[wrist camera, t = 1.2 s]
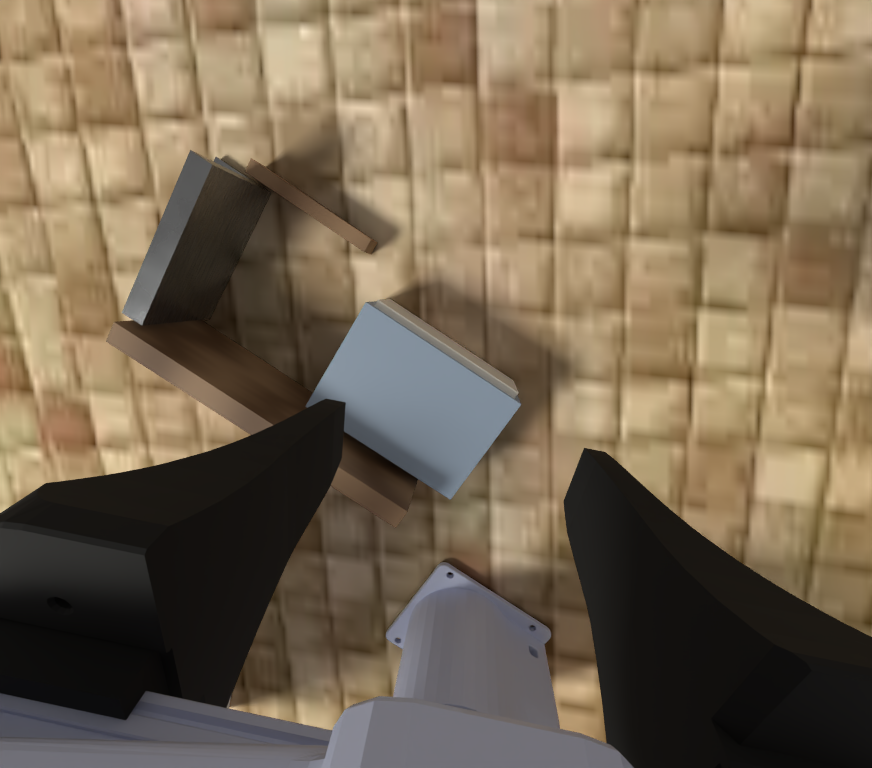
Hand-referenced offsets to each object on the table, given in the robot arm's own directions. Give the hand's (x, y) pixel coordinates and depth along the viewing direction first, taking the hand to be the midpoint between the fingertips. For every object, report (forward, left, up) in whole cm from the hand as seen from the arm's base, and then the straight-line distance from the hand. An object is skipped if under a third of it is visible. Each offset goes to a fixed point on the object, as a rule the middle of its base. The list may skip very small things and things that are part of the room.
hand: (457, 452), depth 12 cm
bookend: (+18, +2, -14) cm, 22 cm away
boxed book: (+2, +3, -14) cm, 14 cm away
